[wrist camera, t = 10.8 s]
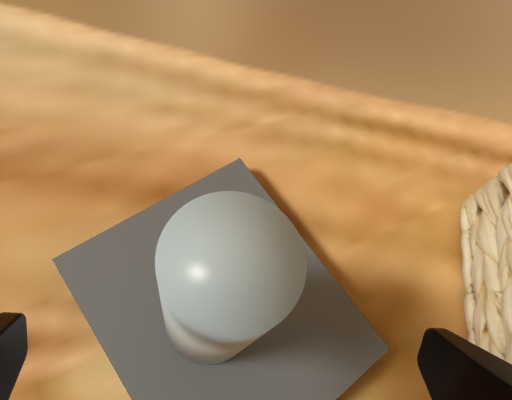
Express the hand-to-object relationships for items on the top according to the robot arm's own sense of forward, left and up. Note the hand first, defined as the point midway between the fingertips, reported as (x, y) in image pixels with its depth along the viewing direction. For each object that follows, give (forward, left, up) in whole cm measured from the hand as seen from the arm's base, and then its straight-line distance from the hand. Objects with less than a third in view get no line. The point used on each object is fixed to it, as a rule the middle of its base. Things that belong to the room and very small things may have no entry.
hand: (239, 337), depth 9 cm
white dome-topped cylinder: (+2, -2, -12) cm, 12 cm away
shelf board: (+2, -3, -13) cm, 14 cm away
